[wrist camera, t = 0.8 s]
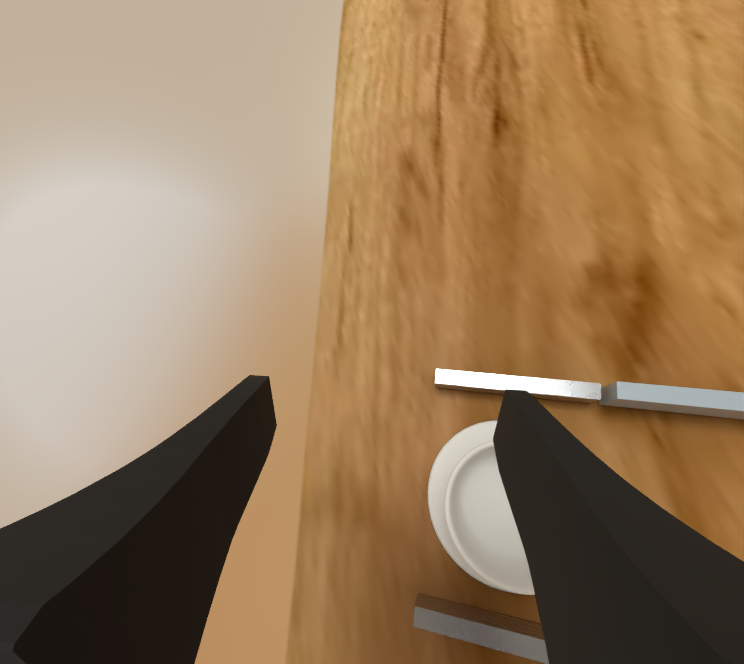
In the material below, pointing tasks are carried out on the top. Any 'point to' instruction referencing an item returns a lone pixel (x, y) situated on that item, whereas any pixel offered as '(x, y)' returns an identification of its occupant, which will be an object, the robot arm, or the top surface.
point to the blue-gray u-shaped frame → (674, 399)
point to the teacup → (477, 512)
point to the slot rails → (474, 621)
